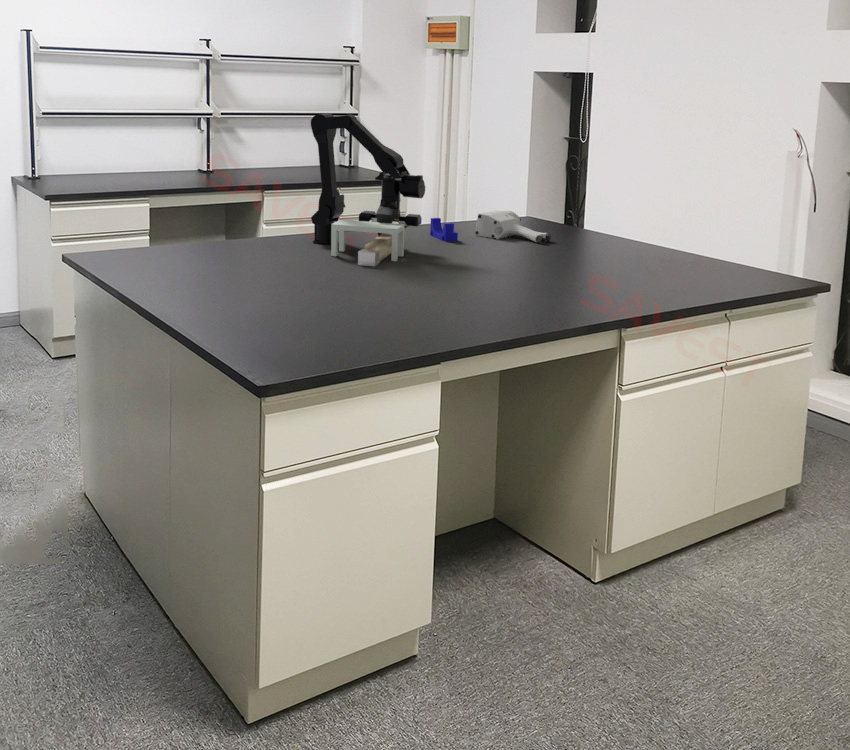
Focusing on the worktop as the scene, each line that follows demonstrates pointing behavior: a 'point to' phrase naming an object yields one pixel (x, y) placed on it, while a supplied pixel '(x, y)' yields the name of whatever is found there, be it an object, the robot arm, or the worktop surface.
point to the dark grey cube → (368, 257)
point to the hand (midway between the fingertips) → (389, 246)
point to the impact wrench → (506, 226)
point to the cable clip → (447, 231)
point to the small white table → (365, 226)
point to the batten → (381, 245)
